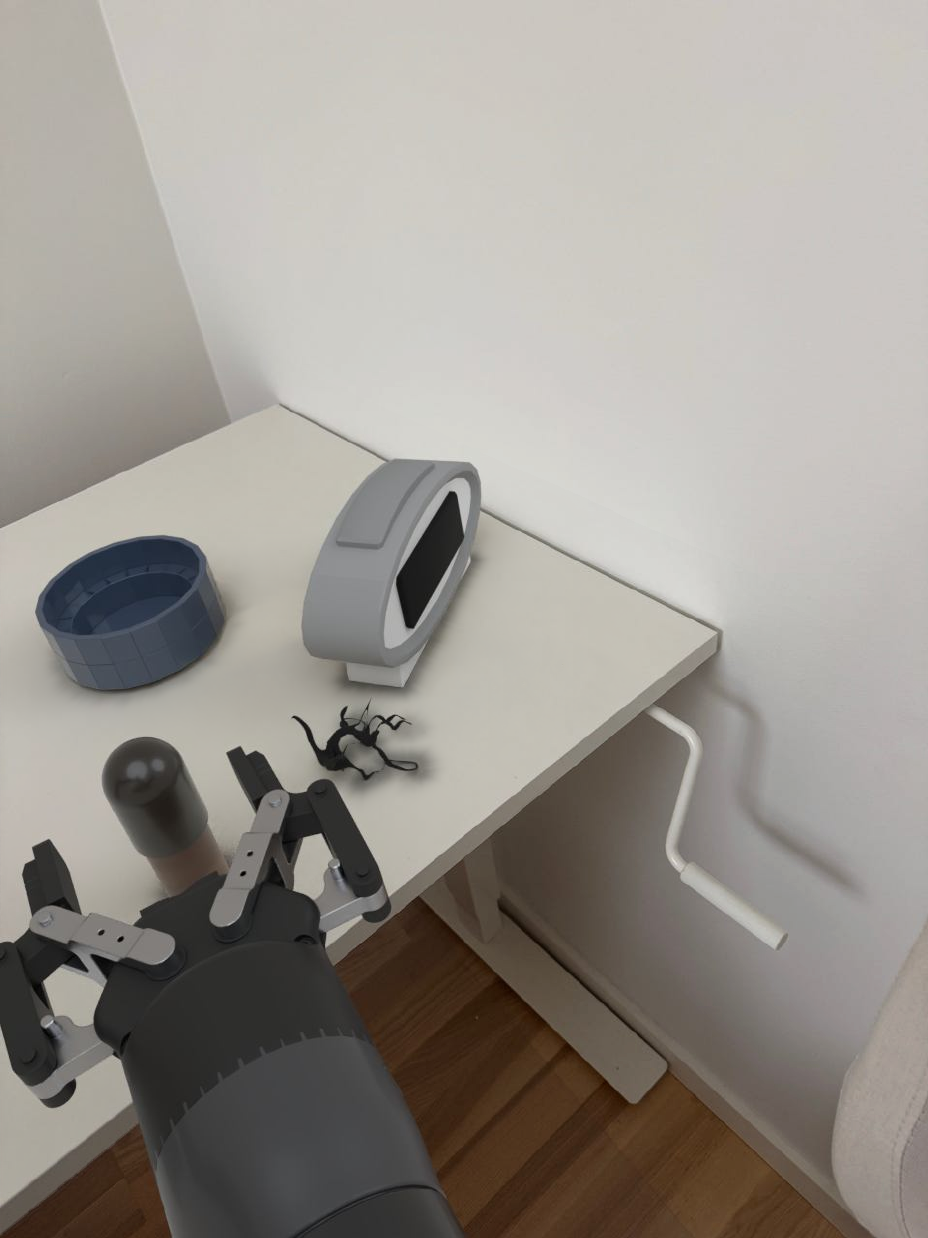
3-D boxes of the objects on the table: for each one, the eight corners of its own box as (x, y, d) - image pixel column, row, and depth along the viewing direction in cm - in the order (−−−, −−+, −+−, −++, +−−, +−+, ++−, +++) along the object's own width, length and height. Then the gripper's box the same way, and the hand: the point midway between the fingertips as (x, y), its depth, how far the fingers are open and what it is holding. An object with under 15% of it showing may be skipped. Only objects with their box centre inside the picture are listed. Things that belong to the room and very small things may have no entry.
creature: (376, 715, 73) (287, 757, 69) (375, 657, 71) (282, 696, 66) (442, 766, 68) (351, 815, 64) (443, 705, 66) (348, 751, 61)
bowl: (84, 720, 76) (53, 664, 72) (50, 631, 86) (22, 578, 83) (249, 645, 81) (228, 589, 77) (199, 569, 91) (178, 516, 87)
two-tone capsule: (180, 935, 59) (99, 794, 51) (160, 884, 62) (80, 744, 54) (249, 898, 60) (181, 755, 52) (226, 850, 64) (158, 708, 56)
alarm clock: (397, 719, 71) (362, 582, 63) (324, 708, 73) (280, 575, 65) (491, 540, 88) (472, 415, 80) (428, 536, 90) (404, 413, 82)
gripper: (457, 946, 30) (273, 672, 41) (-4, 1226, 25) (-65, 831, 37) (489, 1063, 34) (315, 787, 46) (103, 1317, 30) (19, 940, 42)
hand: (146, 807), depth 41 cm, fingers open, 8 cm apart
